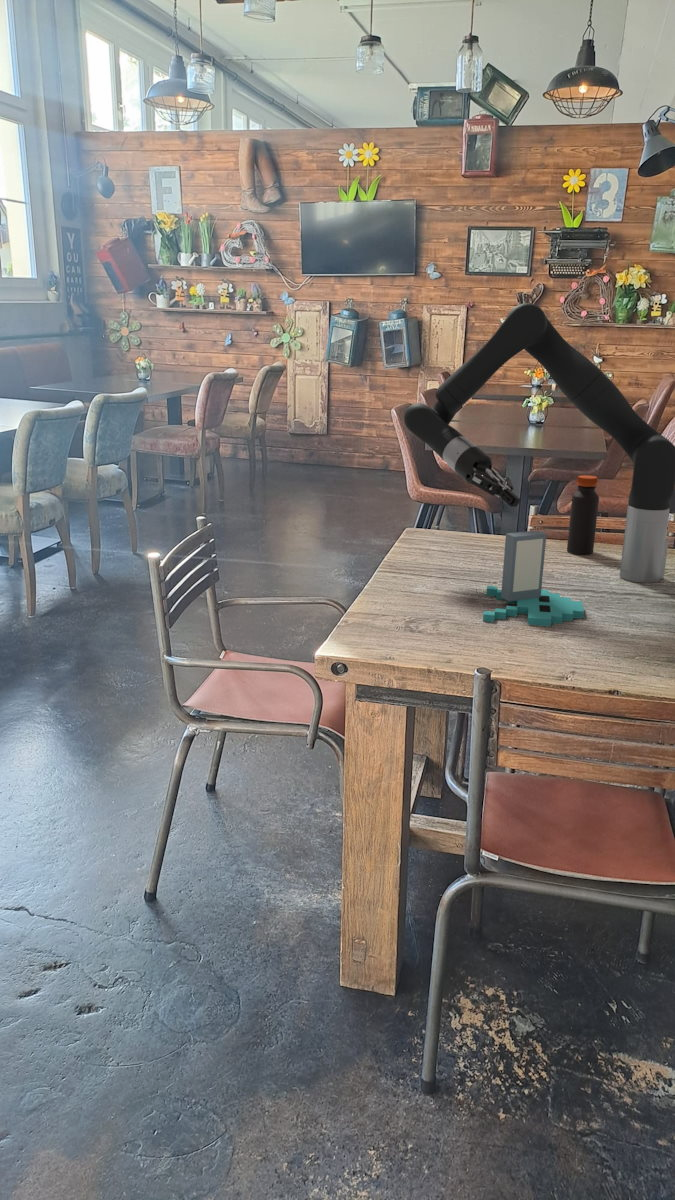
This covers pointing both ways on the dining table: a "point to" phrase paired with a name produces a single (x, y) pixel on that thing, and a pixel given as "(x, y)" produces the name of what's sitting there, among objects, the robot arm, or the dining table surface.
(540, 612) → the alien figure
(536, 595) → the board
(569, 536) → the bottle
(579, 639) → the dining table surface
